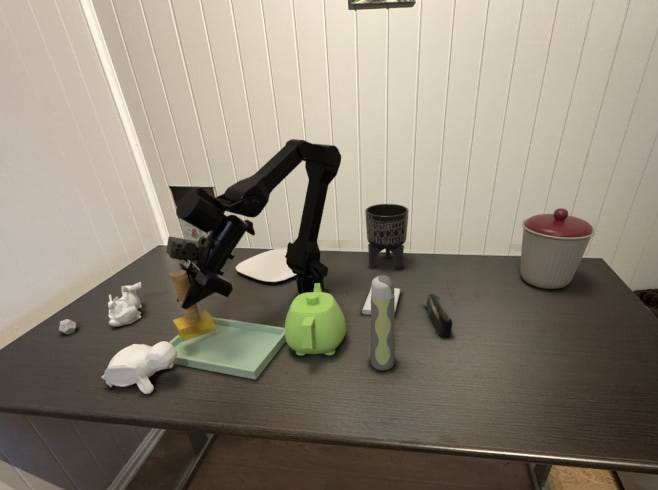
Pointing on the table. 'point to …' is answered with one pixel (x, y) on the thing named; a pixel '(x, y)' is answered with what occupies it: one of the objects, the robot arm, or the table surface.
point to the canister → (553, 248)
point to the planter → (386, 231)
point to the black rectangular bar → (439, 315)
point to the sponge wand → (189, 311)
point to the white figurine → (125, 306)
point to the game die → (67, 326)
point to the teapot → (314, 323)
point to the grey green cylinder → (382, 323)
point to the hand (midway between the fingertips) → (181, 305)
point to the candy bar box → (191, 231)
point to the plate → (267, 266)
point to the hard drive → (367, 304)
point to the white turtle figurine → (139, 365)
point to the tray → (231, 348)
